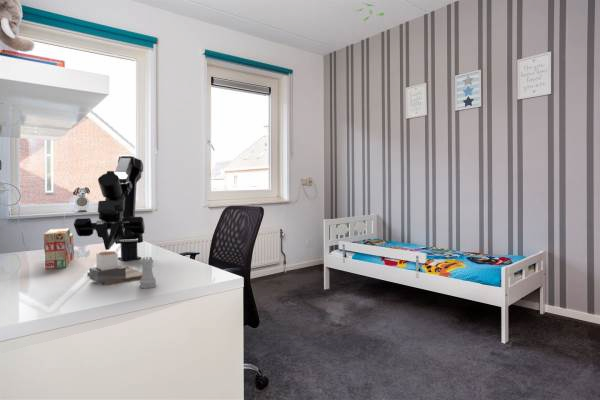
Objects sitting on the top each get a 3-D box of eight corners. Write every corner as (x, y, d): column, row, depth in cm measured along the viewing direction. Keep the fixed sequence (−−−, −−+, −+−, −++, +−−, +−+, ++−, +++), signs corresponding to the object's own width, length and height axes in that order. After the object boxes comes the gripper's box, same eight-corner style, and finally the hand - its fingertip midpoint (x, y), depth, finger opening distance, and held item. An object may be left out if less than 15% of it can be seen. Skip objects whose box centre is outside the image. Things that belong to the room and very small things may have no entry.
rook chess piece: (145, 289, 103) (144, 260, 103) (135, 287, 106) (134, 258, 105) (159, 285, 107) (159, 257, 106) (150, 283, 109) (149, 255, 109)
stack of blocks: (55, 258, 147) (54, 226, 147) (74, 256, 150) (73, 225, 149) (44, 269, 128) (43, 233, 127) (66, 267, 130) (65, 231, 130)
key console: (81, 276, 117) (80, 263, 117) (127, 269, 127) (126, 257, 127) (98, 286, 106) (98, 272, 106) (147, 277, 116) (147, 264, 115)
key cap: (96, 268, 111) (96, 252, 111) (112, 265, 114) (112, 250, 114) (101, 270, 108) (101, 254, 108) (118, 268, 111) (117, 252, 111)
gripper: (74, 191, 113) (63, 233, 103) (142, 190, 118) (137, 230, 108) (83, 215, 121) (73, 256, 111) (146, 213, 126) (142, 253, 116)
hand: (106, 248), depth 111 cm, fingers closed
